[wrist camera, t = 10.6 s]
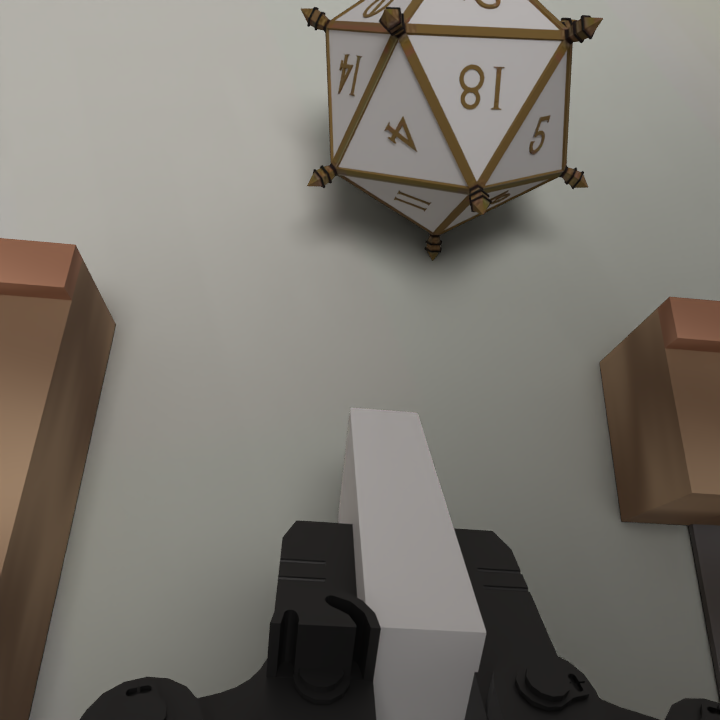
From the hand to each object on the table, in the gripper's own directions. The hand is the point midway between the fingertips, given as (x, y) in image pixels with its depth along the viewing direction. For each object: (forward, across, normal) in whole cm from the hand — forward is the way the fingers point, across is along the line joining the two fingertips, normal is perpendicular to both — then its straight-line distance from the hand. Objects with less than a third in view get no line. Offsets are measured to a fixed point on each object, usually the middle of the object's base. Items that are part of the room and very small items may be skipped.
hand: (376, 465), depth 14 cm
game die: (+11, +2, +5) cm, 12 cm away
